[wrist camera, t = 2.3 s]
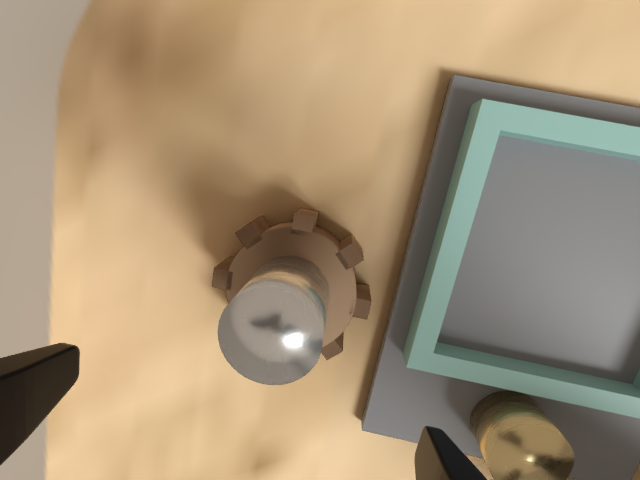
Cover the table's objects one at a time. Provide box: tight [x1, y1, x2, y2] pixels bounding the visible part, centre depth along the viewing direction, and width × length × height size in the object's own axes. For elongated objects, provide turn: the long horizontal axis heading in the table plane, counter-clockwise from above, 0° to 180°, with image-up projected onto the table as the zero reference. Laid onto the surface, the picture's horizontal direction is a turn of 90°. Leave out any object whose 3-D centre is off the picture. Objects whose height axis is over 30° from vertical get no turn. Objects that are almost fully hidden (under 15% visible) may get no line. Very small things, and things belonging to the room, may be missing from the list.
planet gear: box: [212, 208, 371, 385], centre depth 14 cm, size 7×7×6 cm
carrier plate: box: [362, 75, 640, 480], centre depth 15 cm, size 14×18×3 cm
